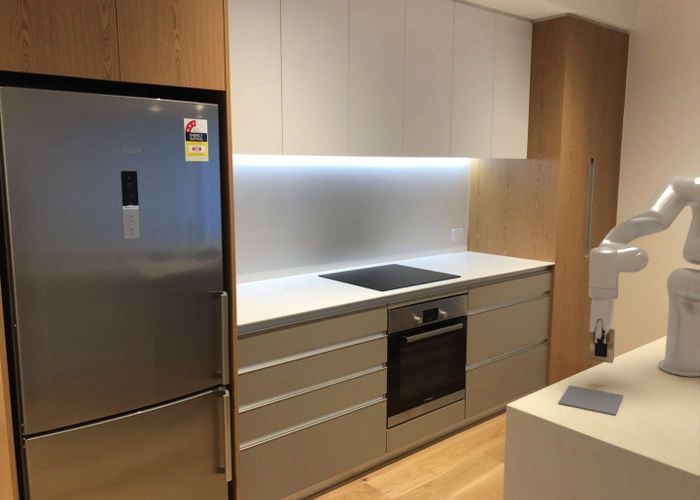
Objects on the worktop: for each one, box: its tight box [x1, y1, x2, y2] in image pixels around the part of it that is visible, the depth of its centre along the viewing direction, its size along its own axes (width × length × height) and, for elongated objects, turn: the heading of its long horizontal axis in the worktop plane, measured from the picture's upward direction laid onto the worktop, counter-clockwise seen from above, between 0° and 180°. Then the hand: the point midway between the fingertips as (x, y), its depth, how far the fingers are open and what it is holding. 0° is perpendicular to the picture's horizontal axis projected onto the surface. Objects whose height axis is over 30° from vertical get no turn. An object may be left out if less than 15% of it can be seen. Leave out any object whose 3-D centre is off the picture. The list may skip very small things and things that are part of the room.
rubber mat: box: [557, 384, 624, 416], centre depth 157 cm, size 14×14×1 cm
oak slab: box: [589, 328, 616, 364], centre depth 166 cm, size 3×6×9 cm, turn 58°
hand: (601, 353), depth 167 cm, fingers closed on oak slab, 3 cm apart
